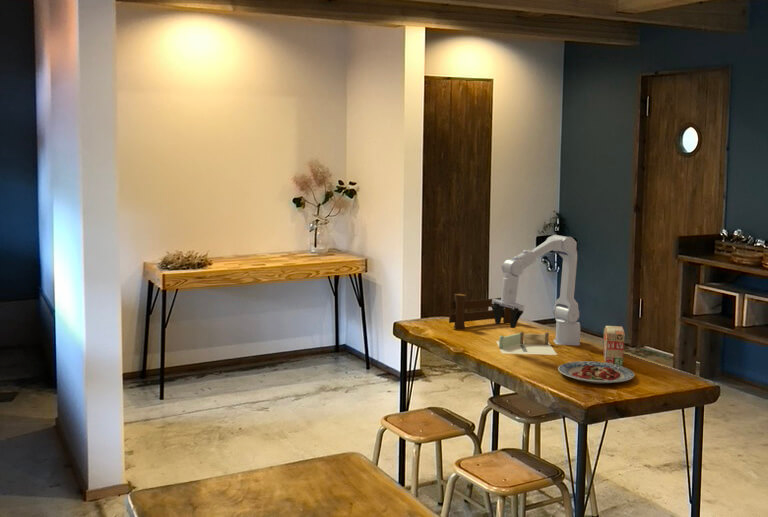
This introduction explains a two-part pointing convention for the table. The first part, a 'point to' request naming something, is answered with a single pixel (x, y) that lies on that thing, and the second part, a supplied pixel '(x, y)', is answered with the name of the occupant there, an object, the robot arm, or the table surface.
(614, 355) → the stack of blocks
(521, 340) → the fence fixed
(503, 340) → the pale green bar
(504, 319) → the decorative fence
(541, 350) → the card
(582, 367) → the ceramic plate
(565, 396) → the table surface
